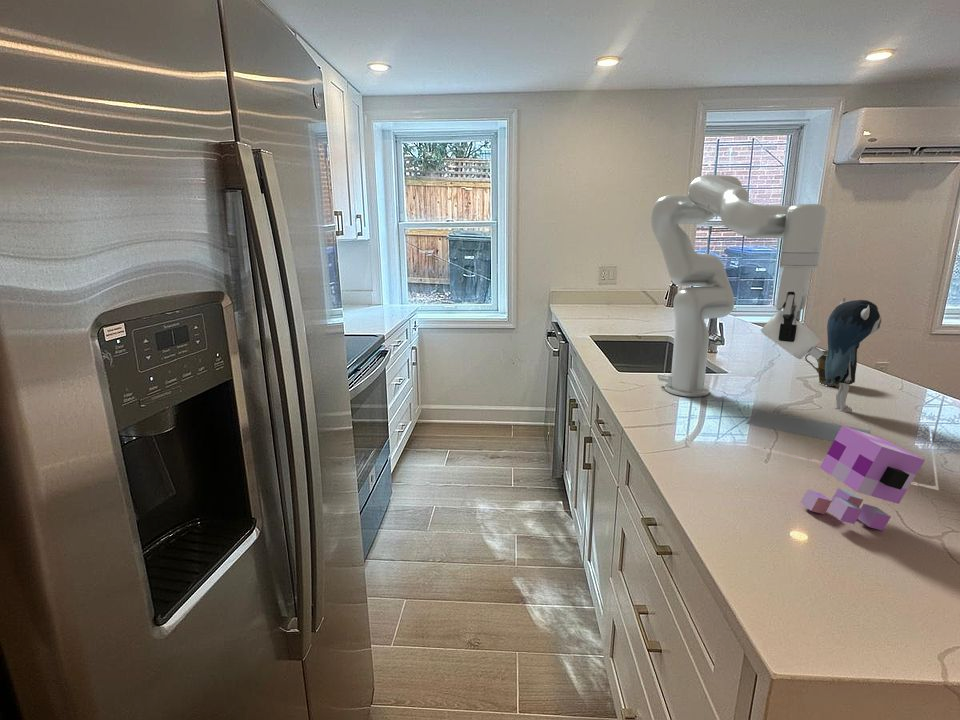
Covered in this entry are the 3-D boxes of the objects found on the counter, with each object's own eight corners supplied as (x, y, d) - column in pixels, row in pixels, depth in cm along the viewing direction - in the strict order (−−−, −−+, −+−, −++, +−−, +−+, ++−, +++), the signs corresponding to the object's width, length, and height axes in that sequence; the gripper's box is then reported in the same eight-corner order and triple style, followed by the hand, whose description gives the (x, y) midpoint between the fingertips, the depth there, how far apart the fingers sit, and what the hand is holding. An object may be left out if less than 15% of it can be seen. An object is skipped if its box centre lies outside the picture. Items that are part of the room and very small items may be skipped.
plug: (758, 330, 121) (777, 311, 118) (762, 328, 124) (780, 309, 121) (809, 367, 116) (829, 348, 112) (812, 364, 118) (832, 345, 115)
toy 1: (875, 421, 127) (898, 303, 120) (828, 419, 129) (847, 302, 122) (849, 404, 140) (867, 297, 133) (806, 402, 142) (823, 296, 135)
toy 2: (795, 498, 89) (836, 422, 85) (833, 508, 90) (875, 434, 86) (841, 534, 78) (889, 450, 75) (883, 546, 80) (933, 463, 76)
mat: (745, 425, 125) (746, 423, 125) (757, 412, 135) (757, 409, 135) (866, 450, 110) (866, 447, 110) (869, 432, 120) (869, 430, 120)
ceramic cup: (849, 383, 161) (854, 352, 158) (851, 391, 152) (857, 358, 150) (801, 377, 167) (806, 348, 165) (801, 384, 159) (806, 354, 157)
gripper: (786, 259, 123) (776, 332, 128) (773, 262, 111) (762, 343, 115) (823, 259, 119) (811, 336, 123) (813, 262, 106) (801, 347, 110)
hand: (788, 338), depth 119 cm, fingers closed on plug, 4 cm apart
